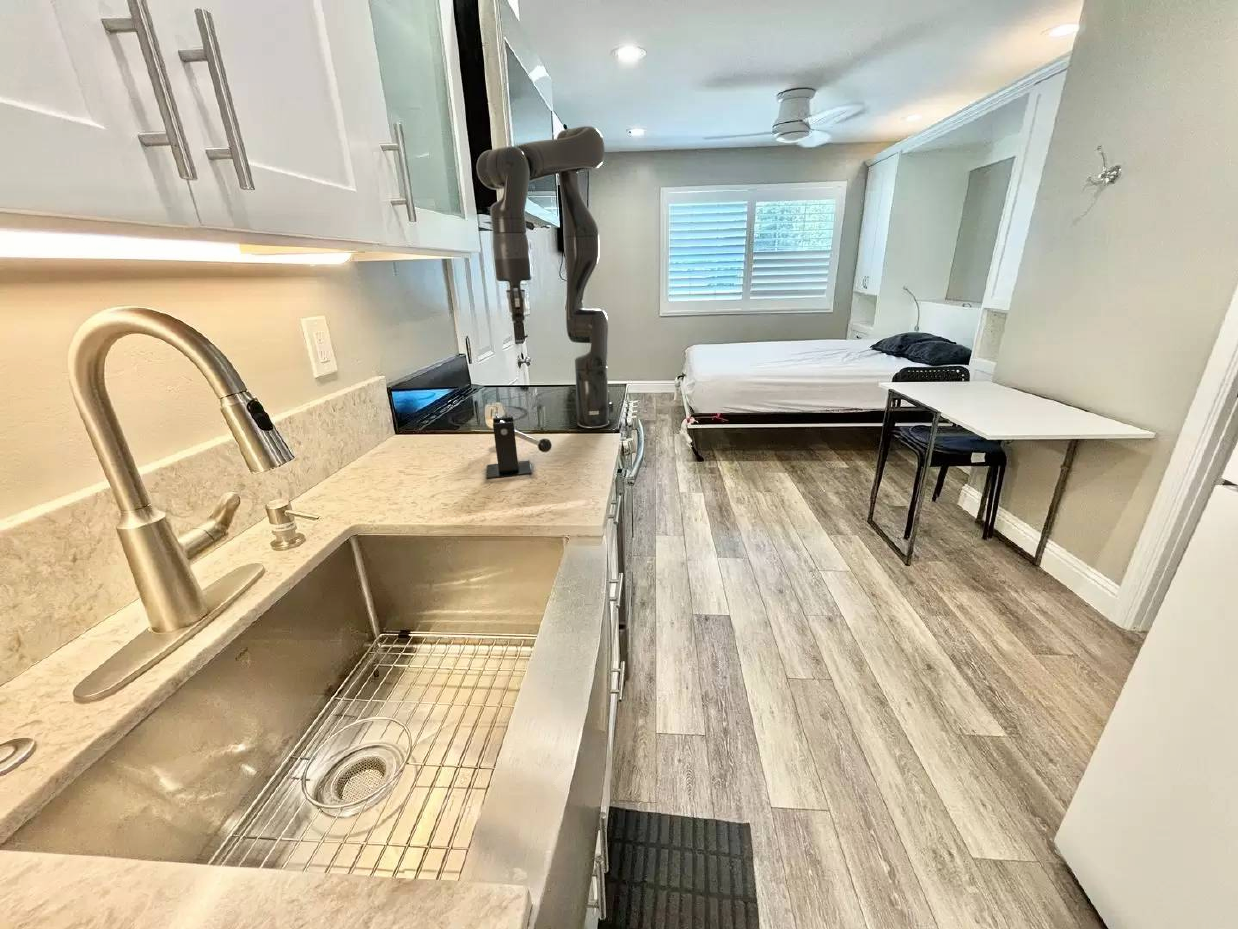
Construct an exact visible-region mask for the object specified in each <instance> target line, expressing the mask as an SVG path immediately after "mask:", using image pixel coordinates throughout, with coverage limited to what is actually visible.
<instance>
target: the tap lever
mask: <svg viewBox="0 0 1238 929" xmlns="http://www.w3.org/2000/svg"><path fill="white" fill-rule="evenodd" d="M501 422H505V421H503V420H500V421H499V423H501ZM514 431H515V437H517V438H520V439H522V440H524V441H526V442H529V443H531V444H534V445H536V446H537V449H538V450H539V451H540V453H548V452H550V451H551V450H552V446H553V445H552V442H551V441H550V439H548V438H541V439H538V438H535V437H532V436H530V435H528V434H526V433H524V432H521V431H520V430H516V429H514Z"/></svg>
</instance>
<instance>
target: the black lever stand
mask: <svg viewBox="0 0 1238 929" xmlns="http://www.w3.org/2000/svg"><path fill="white" fill-rule="evenodd" d="M500 420H503V421H505V422H501V423H499V421H500ZM514 430H515V423H514V416H507V417H501V418H493V438H494V445H495V452H496V460H497V463H491V464H486V474H485V475H486V476H485V478H486V480H494V479H495V480H496V479H503V478H504V479H505V478H512V477H521V476H522V477H523V476H531V475H533V471H532V466H531V461H530V460H519V458H518V451H517V450H518V449H517V441H516V440H517V439H516V436H515V431H514Z"/></svg>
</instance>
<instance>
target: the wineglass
mask: <svg viewBox="0 0 1238 929" xmlns="http://www.w3.org/2000/svg"><path fill="white" fill-rule="evenodd" d="M483 416H484V417H483V419H484V423H485V425H486V426H487V427H488V428H490V429H493V418H501V417H508V412H507V409H506V407H505V404H504V403H503V402H499V401H498V402H489V403H486V404H484V411H483ZM493 430H494V429H493Z"/></svg>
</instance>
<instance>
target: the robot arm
mask: <svg viewBox="0 0 1238 929" xmlns="http://www.w3.org/2000/svg"><path fill="white" fill-rule="evenodd" d="M604 141H605V140H604V138H603V136H602V134H601V132H600V131H599V130H598V129H597V128H596V127H594V126H590V125H583V126H578V127H577V126H576V127H573V128H567V129H563V130H561V131H560V132H558V133H557V136H556V138H553V139H544V140H534V141H529V142H524V143H521V144H517V145H514V146H505V147H504V146H503V147H499V148H493V149H488V150H485V151H484V152H482V153H481V154H480V155H479V157H478V159H477V162H476V173H477V177H478V179H479V180H480V182H481V183H482V184H483V185H484V186H485V187H486V188H488V189H490V190H493V191H494V190H495V191H499V190H503V193H502V197H501V198H500V200H498V201H496V202H494V203H493V204H492V205H491V206H490V222H491V223H490V224H491V231H492V251H493V259H494V260H493V261H494V269H495V278H496V279H495V280H496V281H497V282H507V283H508V285H509V289H506V290H505V292H506V298H507V301H508V310H509V312H510V313H511V322H512V323H513V332H514V333H513V334H514V339H515V340H516V341H524V340H526V334H525V321H526V320H525V319H526V317H525V312H526V301H525V298H526V289H523V288H522V286H521V283H522V282H525V281H531V280H532V267H531V258H530V257H531V256H530V245H529V240H528V234H527V223H526V214H525V213H526V206H527V200H528V192H529V186H530V182H535V181H539V180H542V179H545V178H548V177H551V176H553V175H557V174H558V182H559V189H560V196H561V197H560V198H561V205H562V206H561V209H562V226H563V228H562V230H563V249H564V259H565V273H566V274H565V279H566V300H565V301H566V302H565V304H566V305H565V306H566V307H565V310H566V311H565V327H566V334H567V336H568V339H569V340H570V342H572V343H575V344H590V347H589V351H588V352H586V353H585V354H581V355H578V356H577V357H575V358H574V374H575V391H576V408H577V409H576V410H577V426H578V427H579V428H581V429H584V430H585V429H586V430H599V429H604V428H607V427H608V426H610V423H611V413H614V402H613V401H611V400H610V397H611V396H610V391H609V383H608V382H609V381H608V356H609V321H608V316H607V313H606V312H605V310H603V309H601V308H584V298H585V297H584V295H585V290H586V287H587V286H588V285H587V284H588V282H589V281H590V278H591V276H592V275H593V273H594V271H595V269H596V266H597V265H598V262H599V259H600V233H599V232H600V231H599V228H598V225H597V222H596V220H595V218H594V216H593V215H592V212H591V211H590V209H589V208H588V206H587V204H586V203H585V201H584V198H583V195H582V192H581V187H580V186H581V185H580V180H579V178H580V177H579V174H580V173H582V172H590V171H594V170H597V169H598V168H600V166H602V164H603V162H604V160H605V153H606V149H605V148H606V147H605V142H604Z"/></svg>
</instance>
